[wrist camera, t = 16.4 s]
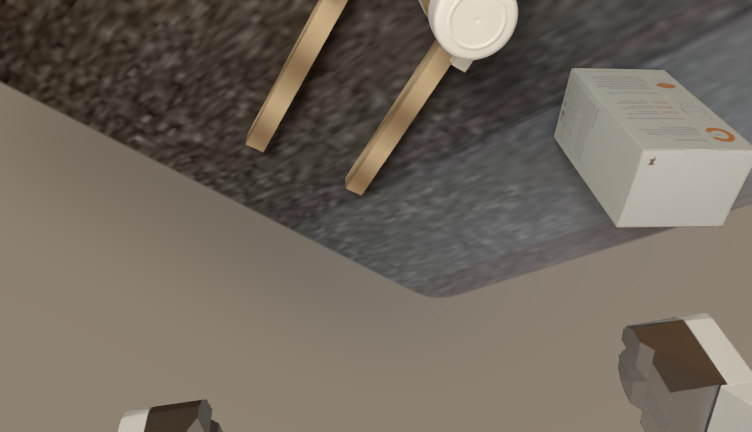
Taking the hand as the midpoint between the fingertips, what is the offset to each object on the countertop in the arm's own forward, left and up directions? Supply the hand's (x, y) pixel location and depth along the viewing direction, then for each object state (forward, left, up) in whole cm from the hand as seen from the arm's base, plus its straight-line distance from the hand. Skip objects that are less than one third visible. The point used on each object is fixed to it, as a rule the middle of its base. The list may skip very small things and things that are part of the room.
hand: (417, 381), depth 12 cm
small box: (+20, -16, -37) cm, 45 cm away
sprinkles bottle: (+7, -2, -37) cm, 38 cm away
